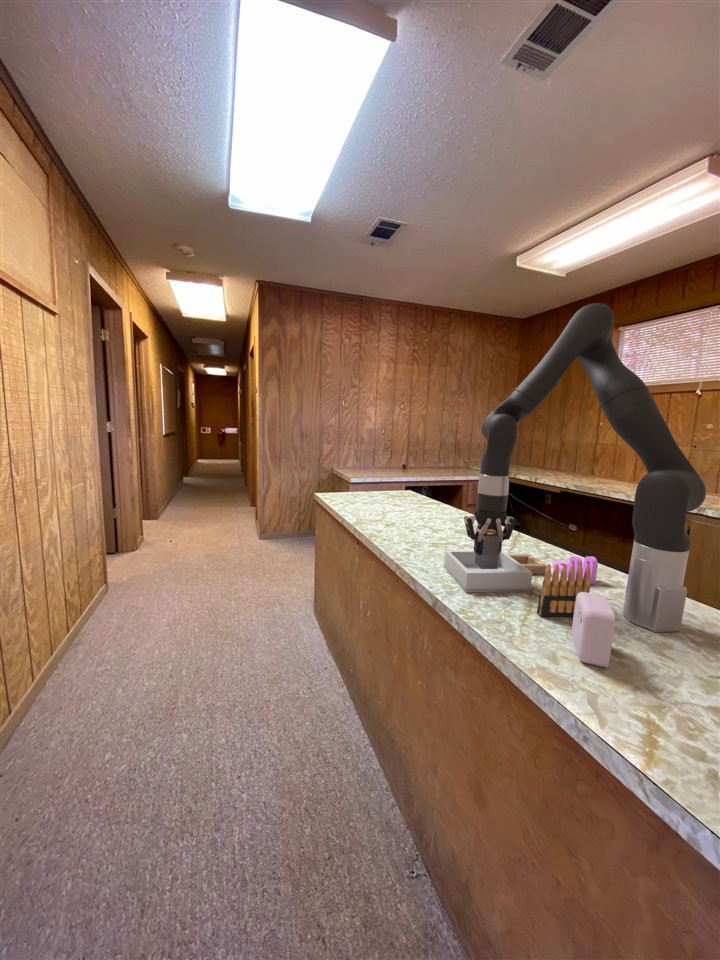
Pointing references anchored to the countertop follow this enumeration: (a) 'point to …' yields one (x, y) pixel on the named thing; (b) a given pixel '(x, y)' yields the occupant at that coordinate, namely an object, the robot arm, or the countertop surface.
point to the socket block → (530, 563)
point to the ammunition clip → (562, 591)
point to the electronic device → (593, 629)
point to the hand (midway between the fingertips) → (486, 553)
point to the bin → (487, 573)
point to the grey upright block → (489, 551)
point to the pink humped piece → (577, 561)
